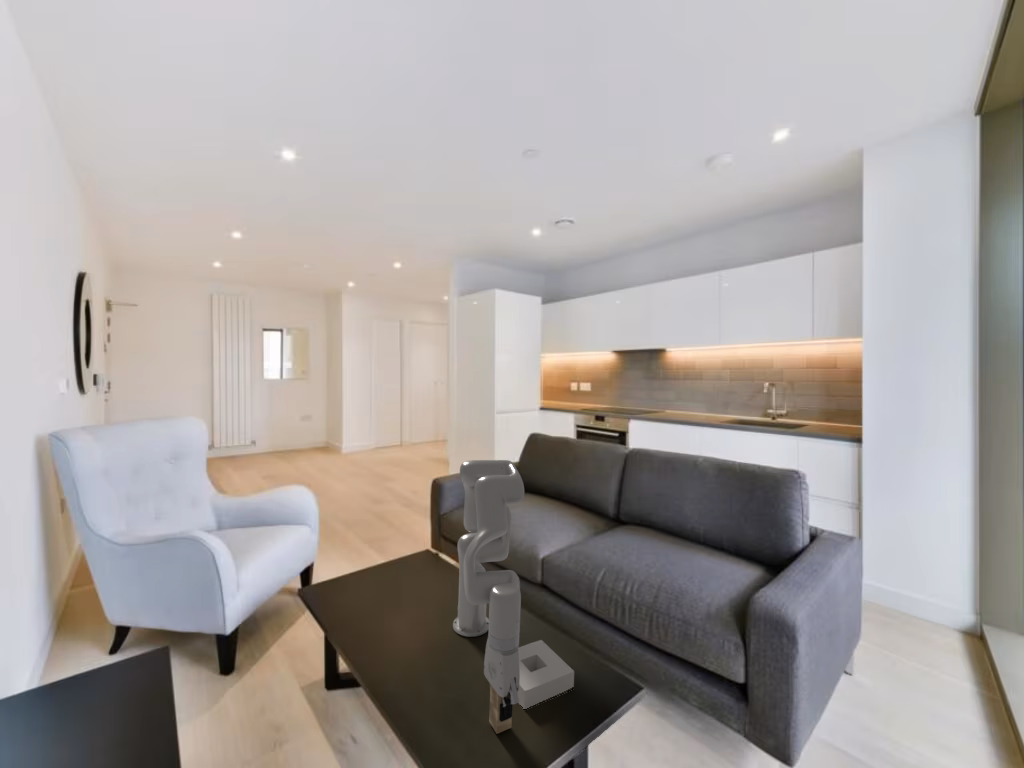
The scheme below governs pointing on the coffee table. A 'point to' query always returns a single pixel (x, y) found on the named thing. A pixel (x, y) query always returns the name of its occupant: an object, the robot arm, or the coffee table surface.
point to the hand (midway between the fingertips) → (500, 711)
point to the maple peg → (497, 713)
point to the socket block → (541, 674)
